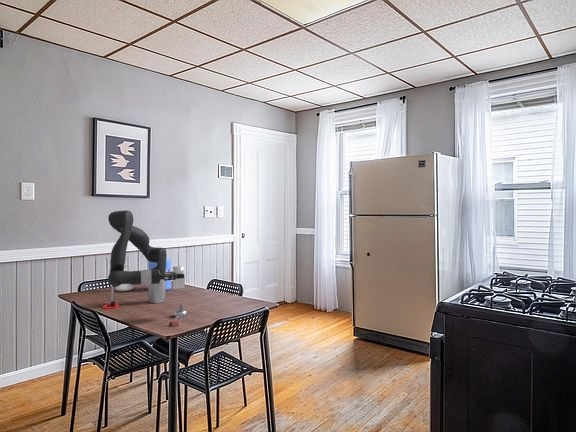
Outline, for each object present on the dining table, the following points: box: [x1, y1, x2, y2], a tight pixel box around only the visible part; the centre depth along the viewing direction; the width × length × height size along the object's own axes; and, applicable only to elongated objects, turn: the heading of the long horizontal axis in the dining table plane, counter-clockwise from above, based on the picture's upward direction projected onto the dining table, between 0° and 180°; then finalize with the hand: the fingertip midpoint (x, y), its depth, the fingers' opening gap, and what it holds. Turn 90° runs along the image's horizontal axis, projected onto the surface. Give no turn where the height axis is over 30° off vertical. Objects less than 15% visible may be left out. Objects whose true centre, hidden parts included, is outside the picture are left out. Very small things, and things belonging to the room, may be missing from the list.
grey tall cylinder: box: [172, 265, 186, 290], centre depth 221 cm, size 6×6×11 cm
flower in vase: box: [115, 264, 134, 292], centre depth 288 cm, size 13×11×25 cm
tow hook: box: [102, 286, 120, 310], centre depth 240 cm, size 8×13×9 cm
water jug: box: [147, 257, 172, 291], centre depth 294 cm, size 16×16×28 cm
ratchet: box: [171, 303, 188, 327], centre depth 214 cm, size 22×6×7 cm, turn 7°
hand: (183, 275), depth 222 cm, fingers closed on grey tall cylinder, 5 cm apart
